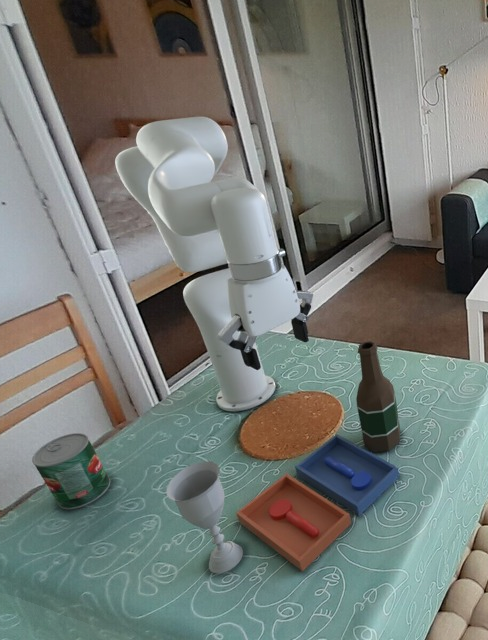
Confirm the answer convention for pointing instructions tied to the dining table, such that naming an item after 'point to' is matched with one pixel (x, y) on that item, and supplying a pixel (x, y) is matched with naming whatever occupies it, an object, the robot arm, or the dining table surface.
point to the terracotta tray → (286, 534)
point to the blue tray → (340, 484)
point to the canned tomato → (72, 470)
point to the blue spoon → (350, 474)
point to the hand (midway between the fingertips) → (279, 352)
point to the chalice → (205, 509)
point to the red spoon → (291, 517)
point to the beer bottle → (376, 403)
